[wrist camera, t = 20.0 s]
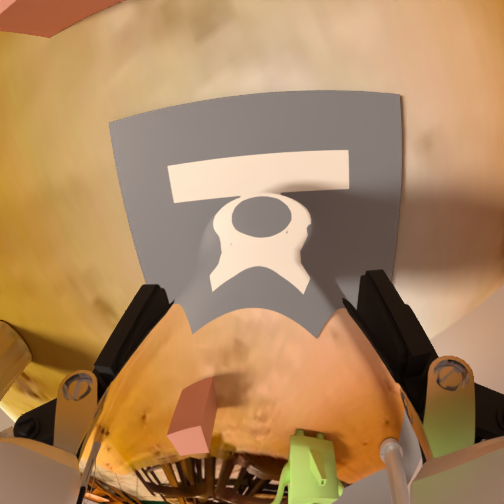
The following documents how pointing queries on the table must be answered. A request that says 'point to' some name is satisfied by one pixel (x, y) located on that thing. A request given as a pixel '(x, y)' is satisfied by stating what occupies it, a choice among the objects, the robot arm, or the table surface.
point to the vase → (11, 356)
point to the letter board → (263, 174)
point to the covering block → (46, 14)
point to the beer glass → (255, 384)
